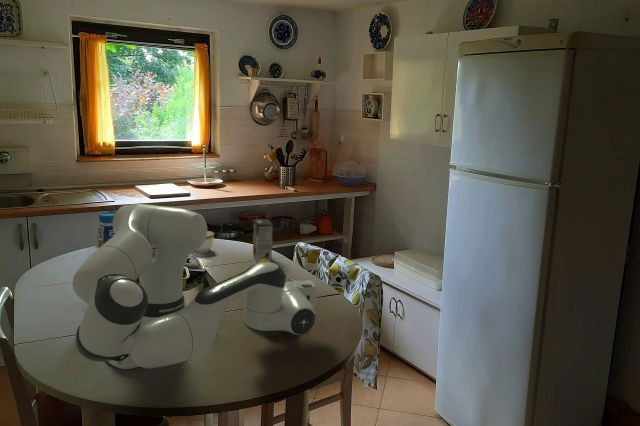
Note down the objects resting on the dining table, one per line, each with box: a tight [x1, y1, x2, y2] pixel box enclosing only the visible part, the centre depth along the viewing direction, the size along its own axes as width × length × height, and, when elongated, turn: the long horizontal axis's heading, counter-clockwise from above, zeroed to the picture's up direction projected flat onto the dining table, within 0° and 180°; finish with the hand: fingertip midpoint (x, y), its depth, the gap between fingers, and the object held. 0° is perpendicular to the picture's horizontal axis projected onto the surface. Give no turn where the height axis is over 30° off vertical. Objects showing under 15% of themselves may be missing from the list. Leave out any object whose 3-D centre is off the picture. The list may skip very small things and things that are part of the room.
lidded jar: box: [194, 230, 215, 254], centre depth 236 cm, size 11×11×9 cm
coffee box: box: [252, 218, 274, 263], centre depth 228 cm, size 9×6×16 cm
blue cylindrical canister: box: [97, 211, 116, 249], centre depth 214 cm, size 8×8×20 cm
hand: (274, 282), depth 167 cm, fingers open, 8 cm apart
